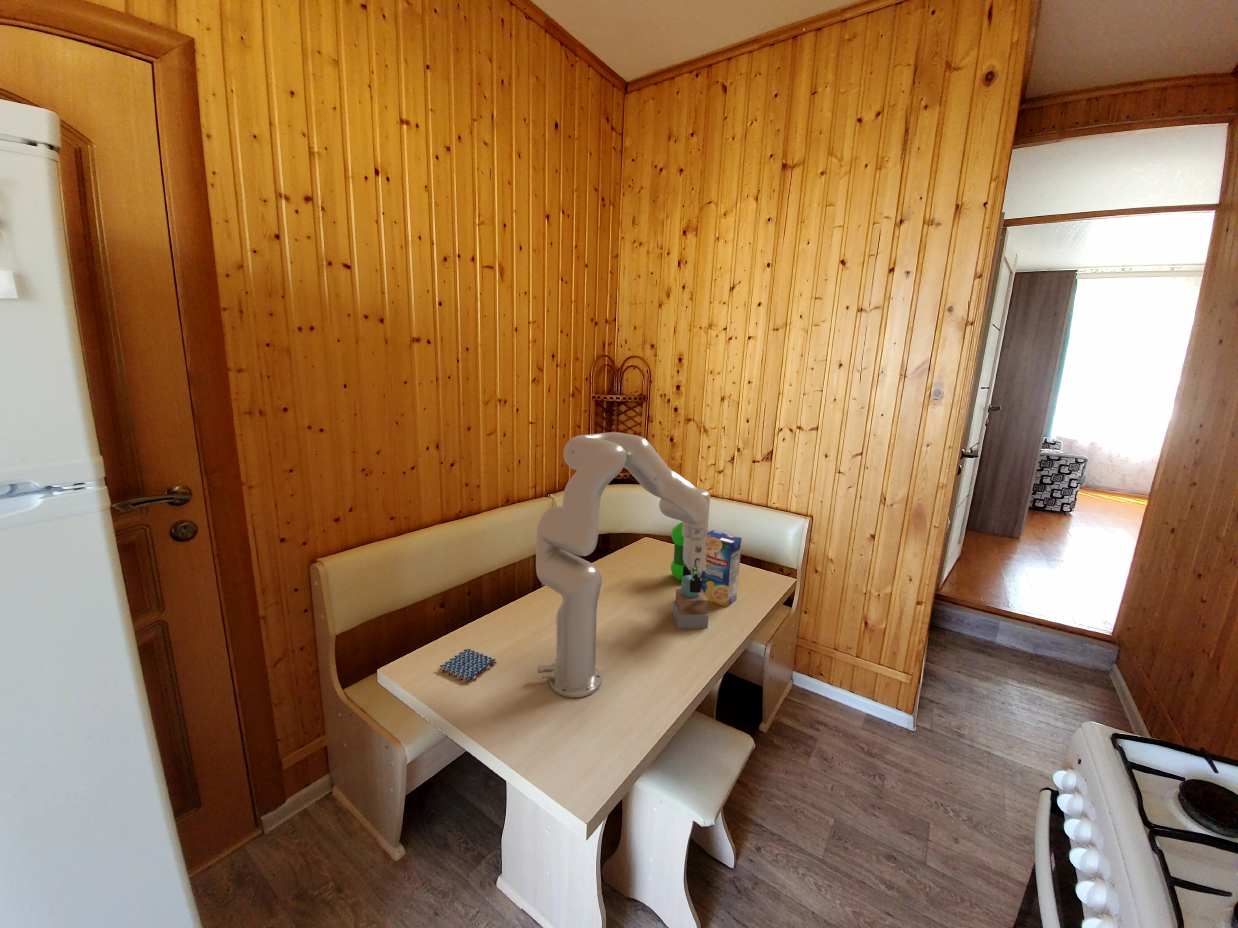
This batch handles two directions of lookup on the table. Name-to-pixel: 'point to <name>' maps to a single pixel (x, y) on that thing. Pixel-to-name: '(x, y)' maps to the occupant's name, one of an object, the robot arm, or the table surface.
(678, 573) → the green soda bottle
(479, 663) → the woven mat
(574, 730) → the table surface
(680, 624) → the tower base
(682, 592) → the blue egg-shaped pebble
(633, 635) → the table surface
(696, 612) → the tower top
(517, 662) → the table surface
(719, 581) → the beverage box
